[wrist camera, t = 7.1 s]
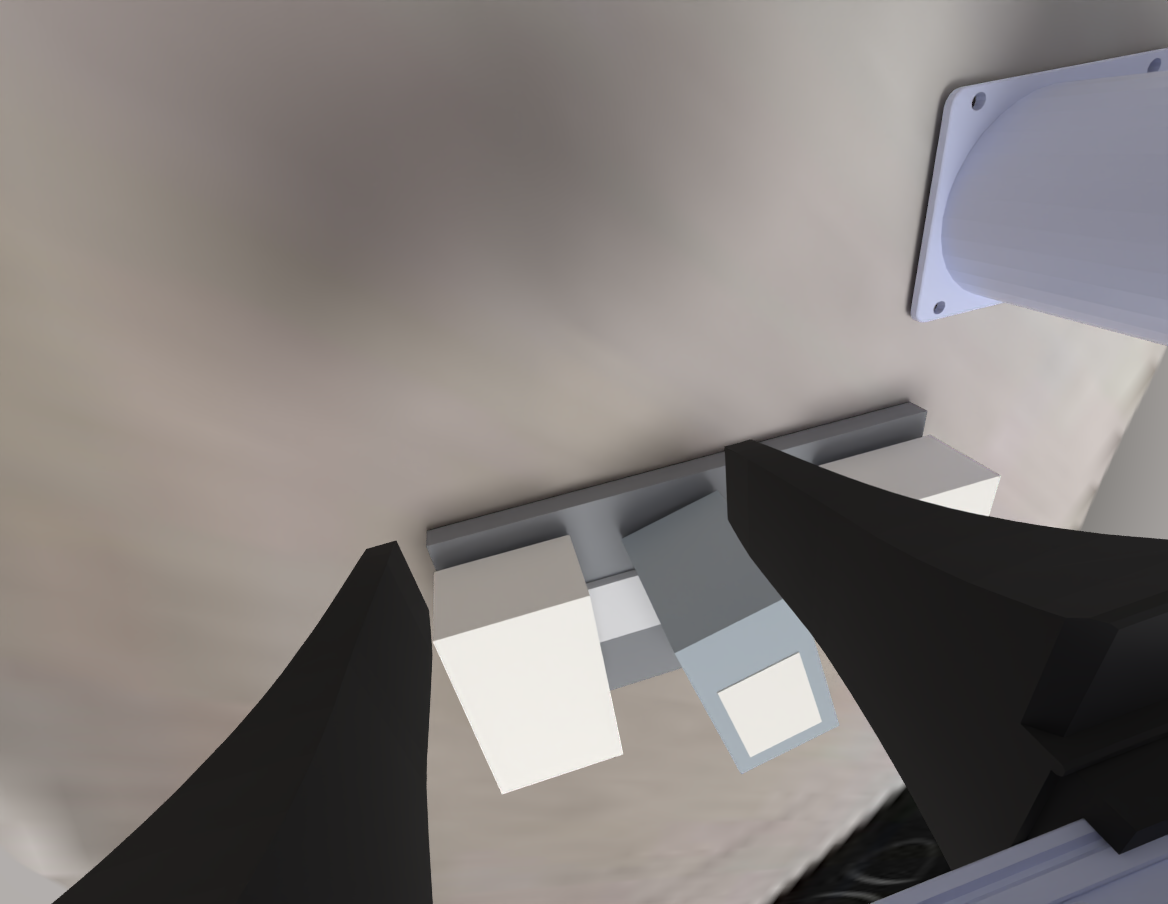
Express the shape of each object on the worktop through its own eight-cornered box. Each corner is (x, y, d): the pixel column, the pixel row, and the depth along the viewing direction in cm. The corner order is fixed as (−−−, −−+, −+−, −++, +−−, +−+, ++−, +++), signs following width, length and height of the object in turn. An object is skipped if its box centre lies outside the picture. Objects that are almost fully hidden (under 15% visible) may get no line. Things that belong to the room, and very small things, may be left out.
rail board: (910, 401, 24) (1007, 453, 20) (876, 589, 30) (945, 659, 26) (426, 530, 22) (423, 621, 17) (497, 708, 28) (507, 805, 24)
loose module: (717, 490, 22) (800, 591, 17) (764, 617, 27) (840, 726, 22) (621, 539, 22) (675, 654, 17) (684, 657, 27) (741, 775, 22)
